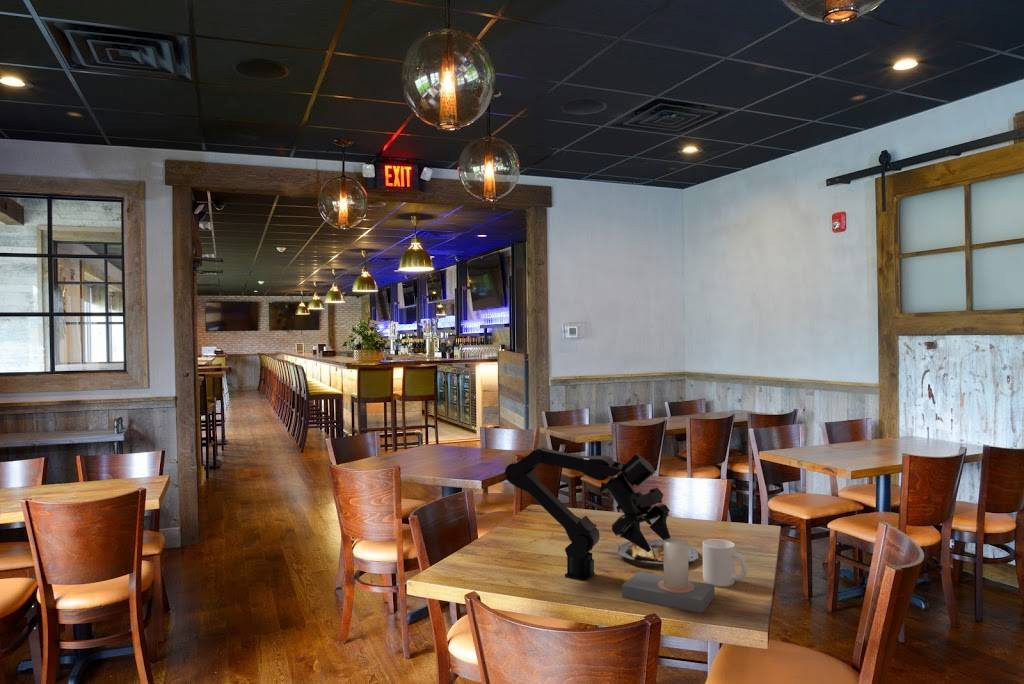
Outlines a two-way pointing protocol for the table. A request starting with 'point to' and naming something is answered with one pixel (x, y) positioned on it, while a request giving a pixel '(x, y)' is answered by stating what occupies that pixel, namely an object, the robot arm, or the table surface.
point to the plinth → (668, 592)
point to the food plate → (650, 552)
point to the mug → (721, 563)
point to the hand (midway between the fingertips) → (660, 547)
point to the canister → (676, 563)
